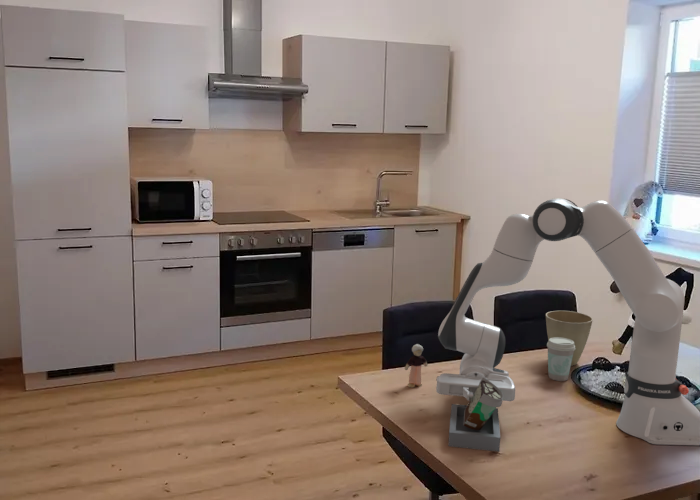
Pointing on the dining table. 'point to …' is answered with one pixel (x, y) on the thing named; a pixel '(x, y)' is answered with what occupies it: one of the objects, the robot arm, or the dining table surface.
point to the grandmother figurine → (415, 366)
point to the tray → (473, 431)
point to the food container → (482, 405)
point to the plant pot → (570, 329)
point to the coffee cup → (560, 358)
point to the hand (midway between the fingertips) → (475, 398)
